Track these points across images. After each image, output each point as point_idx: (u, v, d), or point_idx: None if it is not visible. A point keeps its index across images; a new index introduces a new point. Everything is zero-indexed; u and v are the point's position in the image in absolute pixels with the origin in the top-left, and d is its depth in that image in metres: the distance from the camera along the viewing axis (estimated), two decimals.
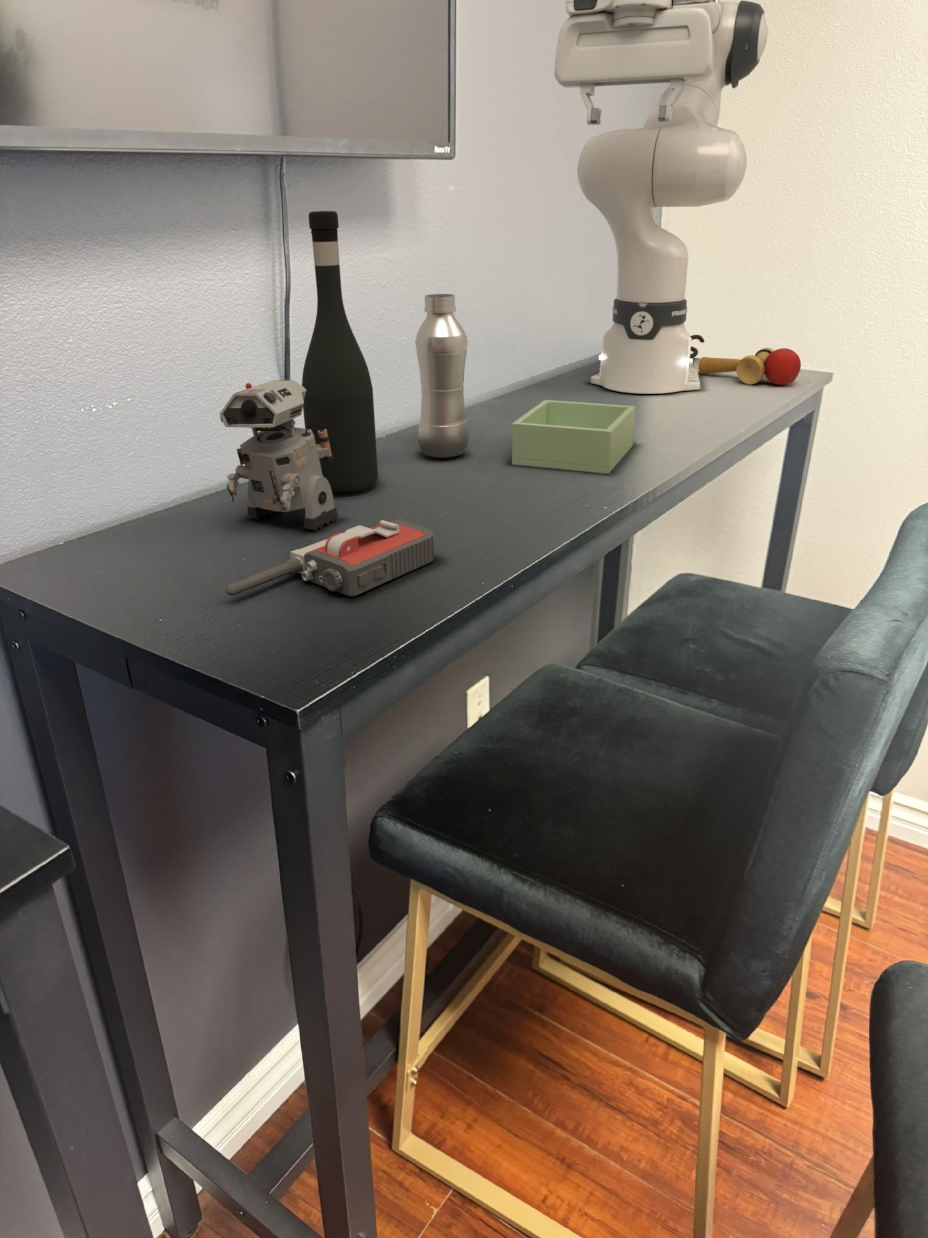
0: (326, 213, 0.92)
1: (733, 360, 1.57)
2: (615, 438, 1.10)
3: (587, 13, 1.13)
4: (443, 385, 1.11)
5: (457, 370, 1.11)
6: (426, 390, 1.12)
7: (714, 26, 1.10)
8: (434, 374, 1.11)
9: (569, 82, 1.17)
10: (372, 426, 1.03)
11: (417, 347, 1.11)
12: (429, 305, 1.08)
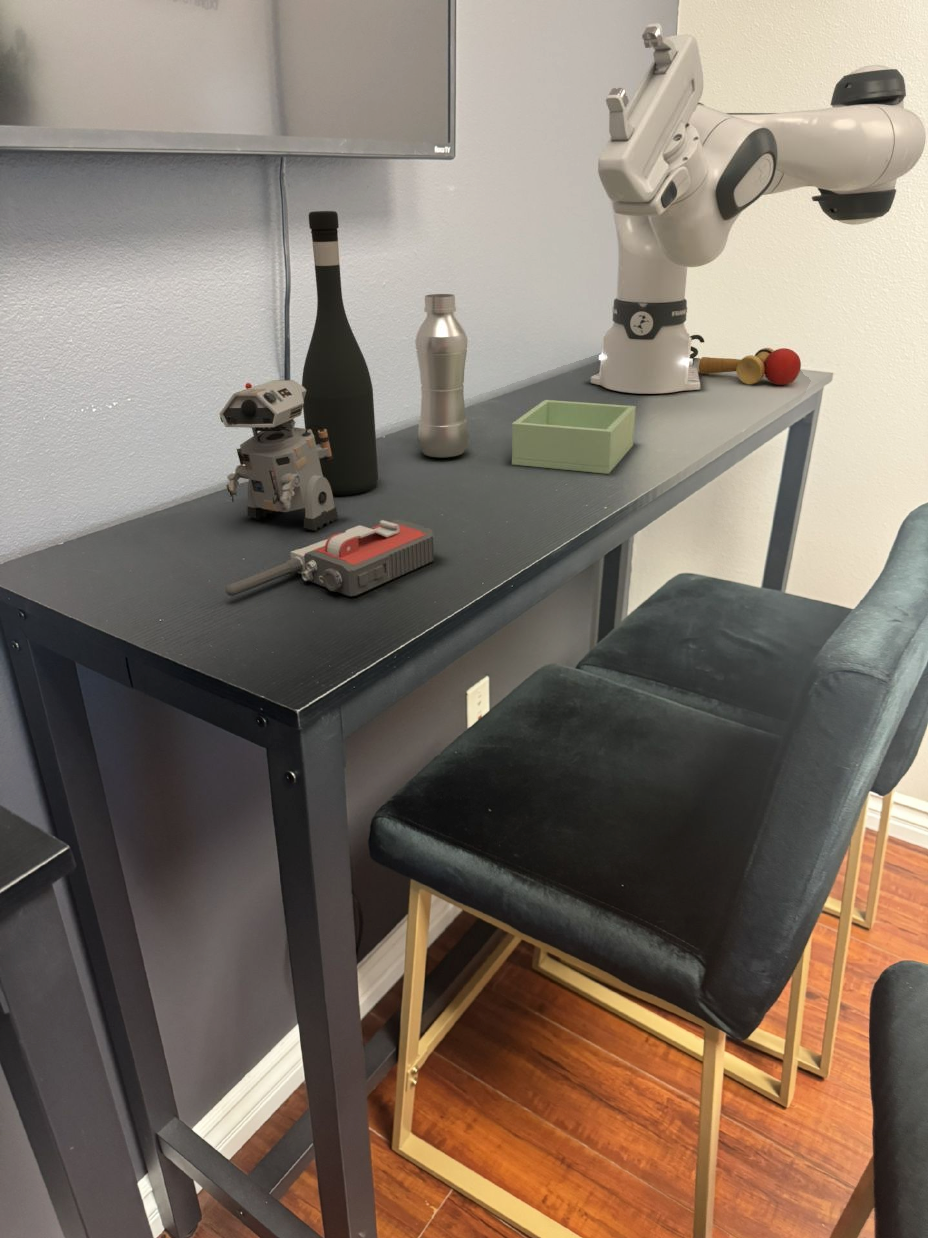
0: (326, 213, 0.92)
1: (733, 360, 1.57)
2: (615, 438, 1.10)
3: None
4: (443, 385, 1.11)
5: (457, 370, 1.11)
6: (426, 390, 1.12)
7: None
8: (434, 374, 1.11)
9: None
10: (372, 426, 1.03)
11: (417, 347, 1.11)
12: (429, 305, 1.08)
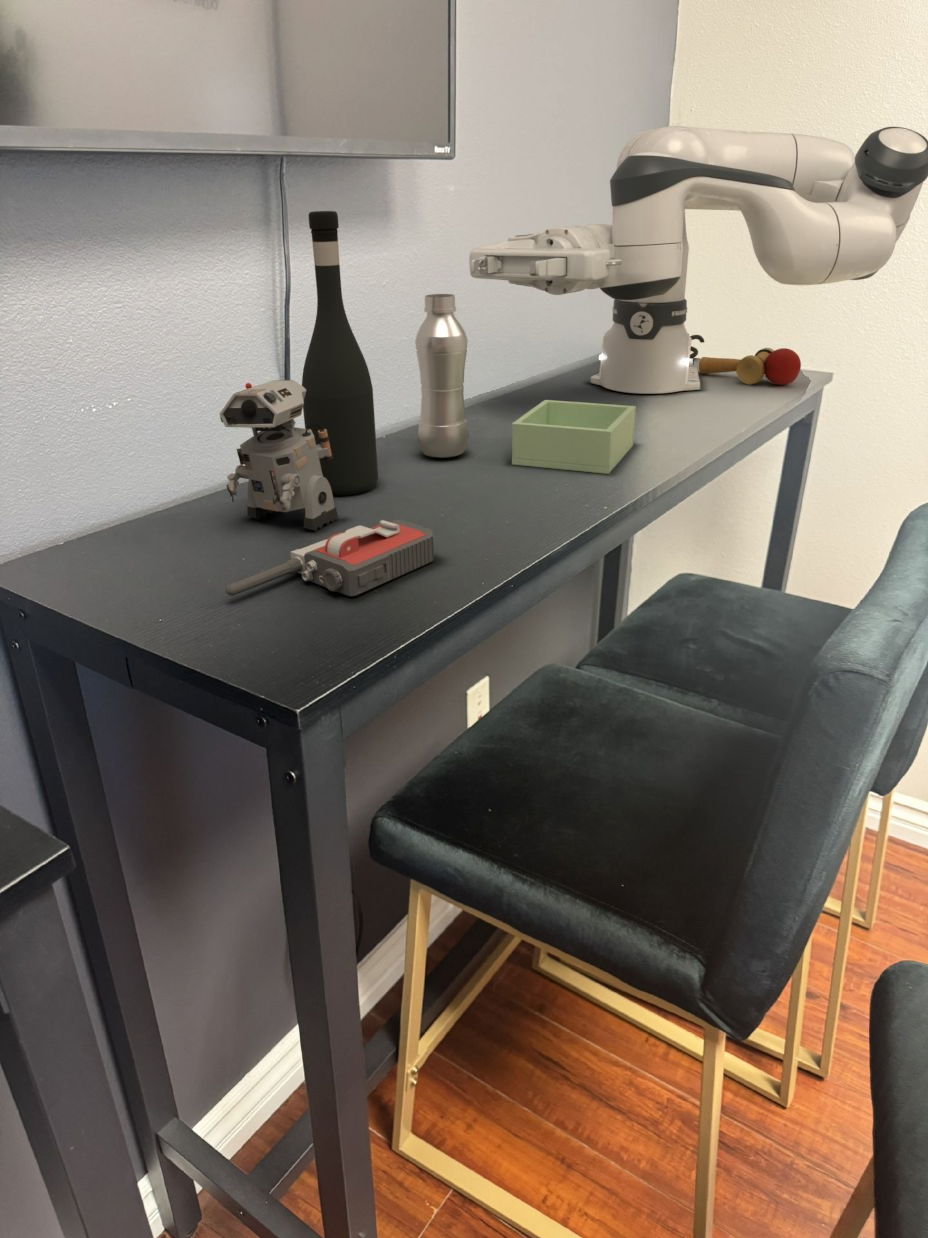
0: (326, 213, 0.92)
1: (733, 360, 1.57)
2: (615, 438, 1.10)
3: (522, 239, 1.26)
4: (443, 385, 1.11)
5: (457, 370, 1.11)
6: (426, 390, 1.12)
7: (610, 260, 1.17)
8: (434, 374, 1.11)
9: (478, 251, 1.23)
10: (372, 426, 1.03)
11: (417, 347, 1.11)
12: (429, 305, 1.08)
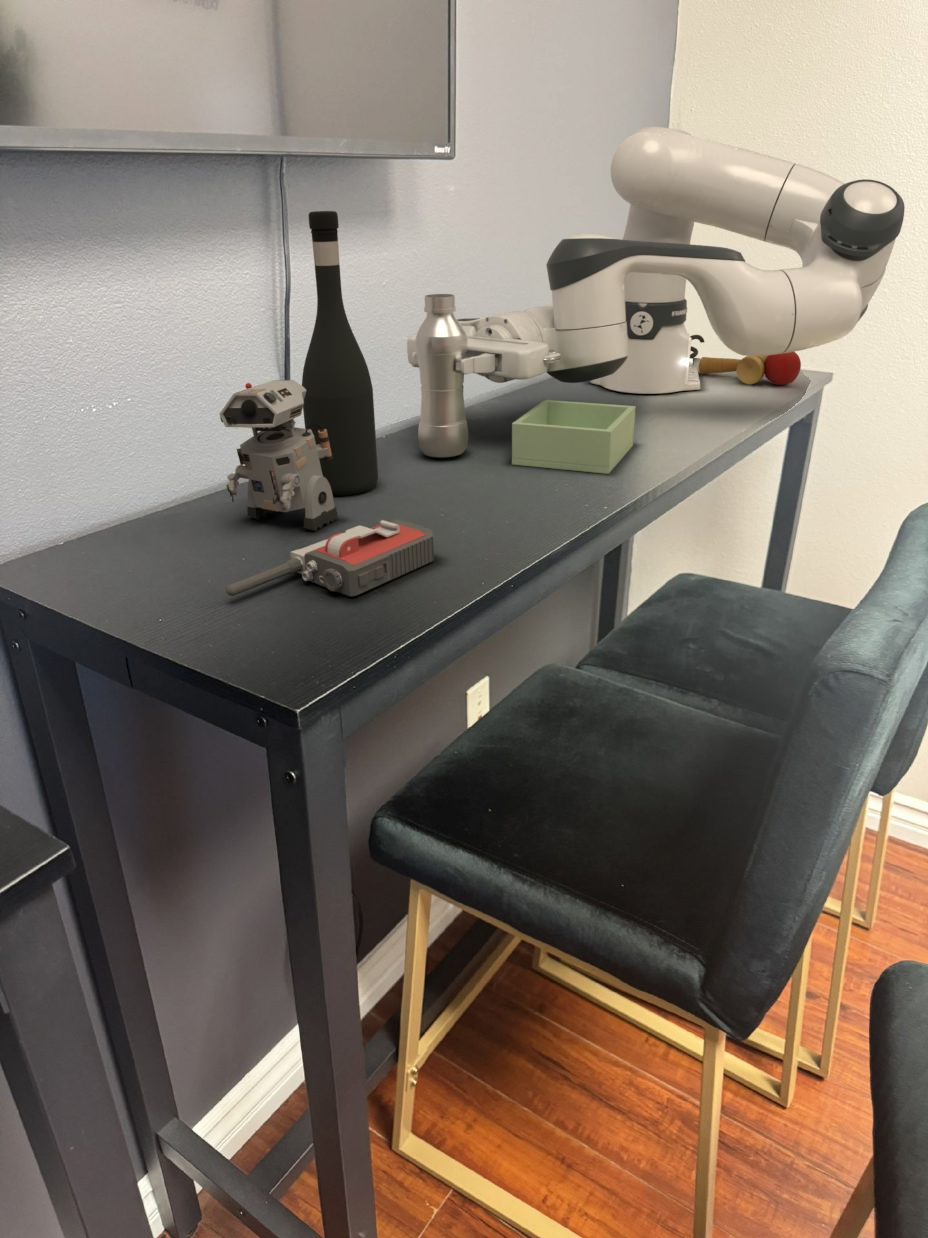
0: (326, 213, 0.92)
1: (733, 360, 1.57)
2: (615, 438, 1.10)
3: (462, 324, 1.22)
4: (443, 385, 1.11)
5: None
6: (426, 390, 1.12)
7: (548, 356, 1.13)
8: (434, 374, 1.11)
9: None
10: (372, 426, 1.03)
11: (417, 347, 1.11)
12: (429, 305, 1.08)
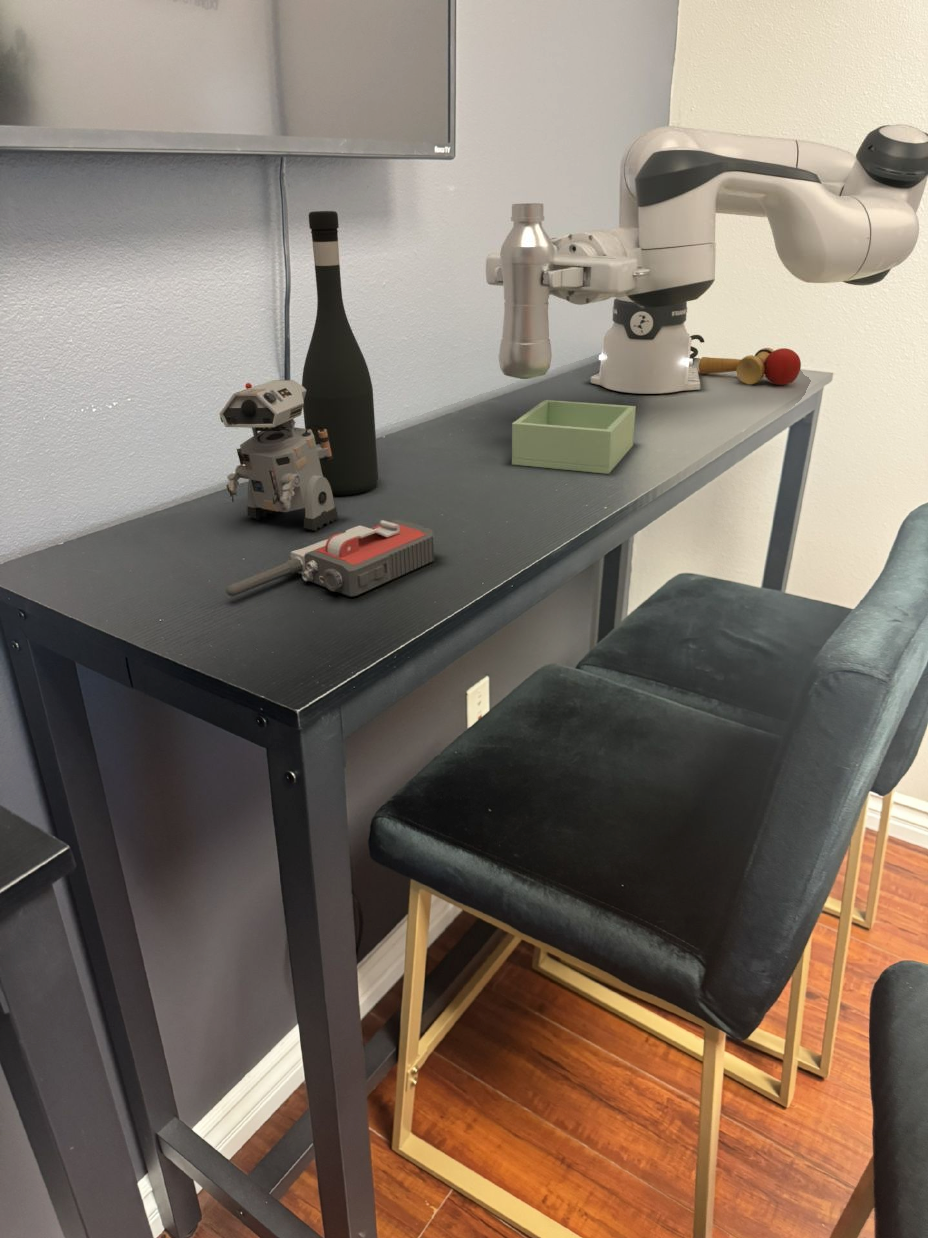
0: (326, 213, 0.92)
1: (733, 360, 1.57)
2: (615, 438, 1.10)
3: None
4: (528, 300, 1.07)
5: None
6: (510, 305, 1.08)
7: (637, 270, 1.08)
8: (520, 287, 1.06)
9: (495, 257, 1.15)
10: (372, 426, 1.03)
11: (503, 259, 1.06)
12: (517, 213, 1.04)
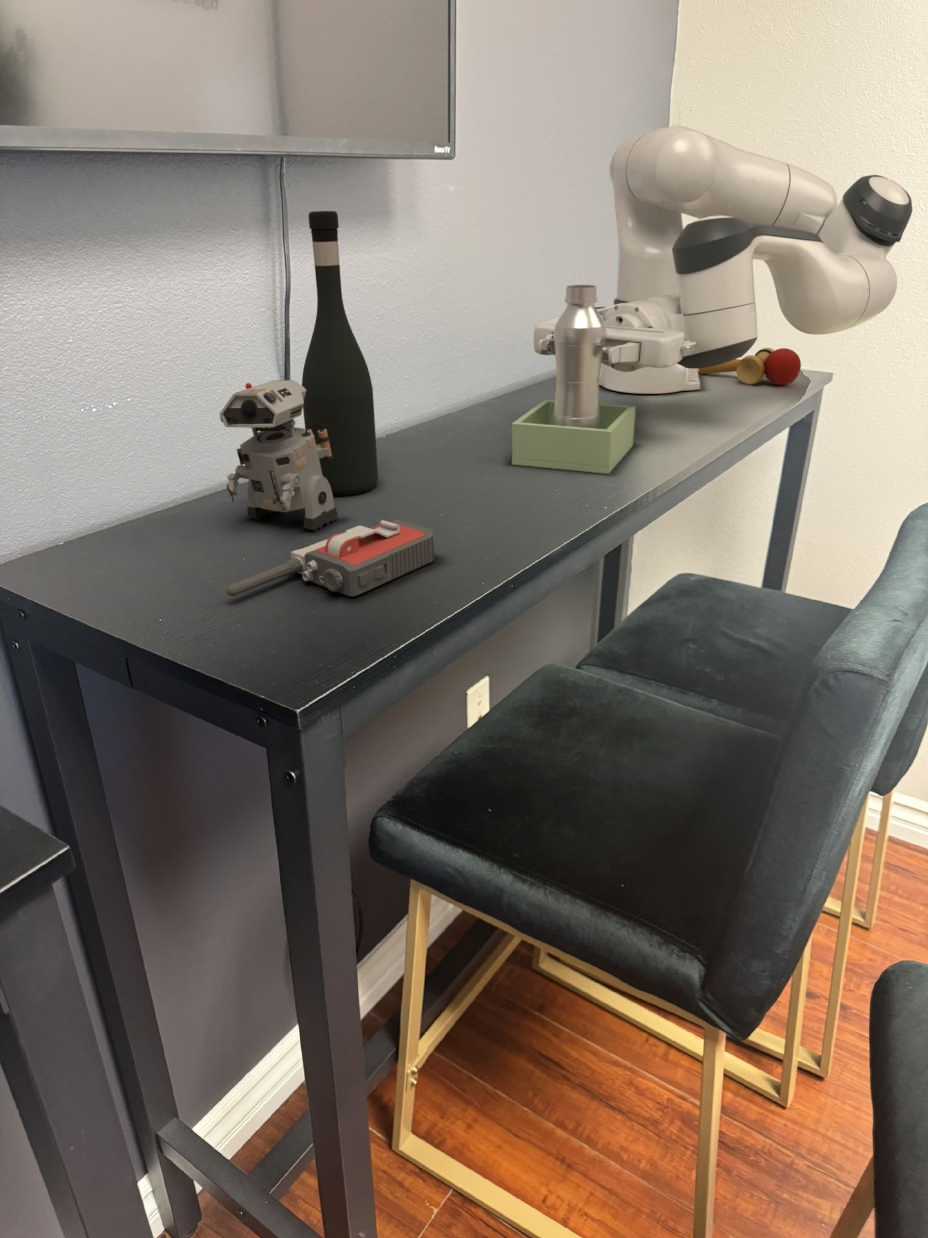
0: (326, 213, 0.92)
1: (733, 360, 1.57)
2: (615, 438, 1.10)
3: None
4: (582, 377, 1.10)
5: (596, 361, 1.10)
6: (563, 382, 1.11)
7: (685, 344, 1.12)
8: (574, 365, 1.10)
9: (543, 328, 1.18)
10: (372, 426, 1.03)
11: (557, 338, 1.10)
12: (572, 295, 1.07)
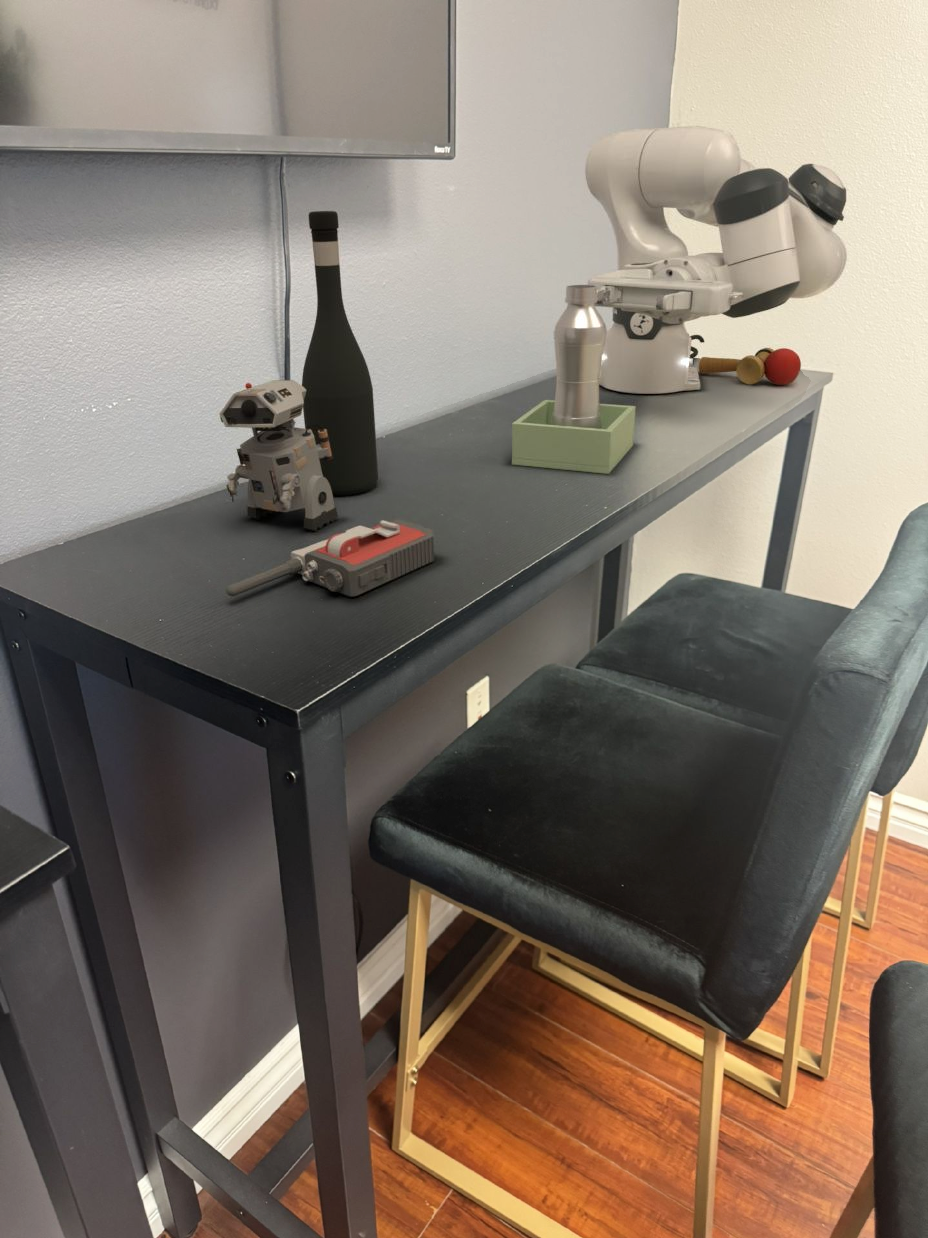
0: (326, 213, 0.92)
1: (733, 360, 1.57)
2: (615, 438, 1.10)
3: (638, 268, 1.28)
4: (582, 377, 1.10)
5: (596, 361, 1.10)
6: (563, 382, 1.11)
7: (733, 294, 1.19)
8: (574, 365, 1.10)
9: (597, 281, 1.25)
10: (372, 426, 1.03)
11: (557, 338, 1.10)
12: (572, 295, 1.07)
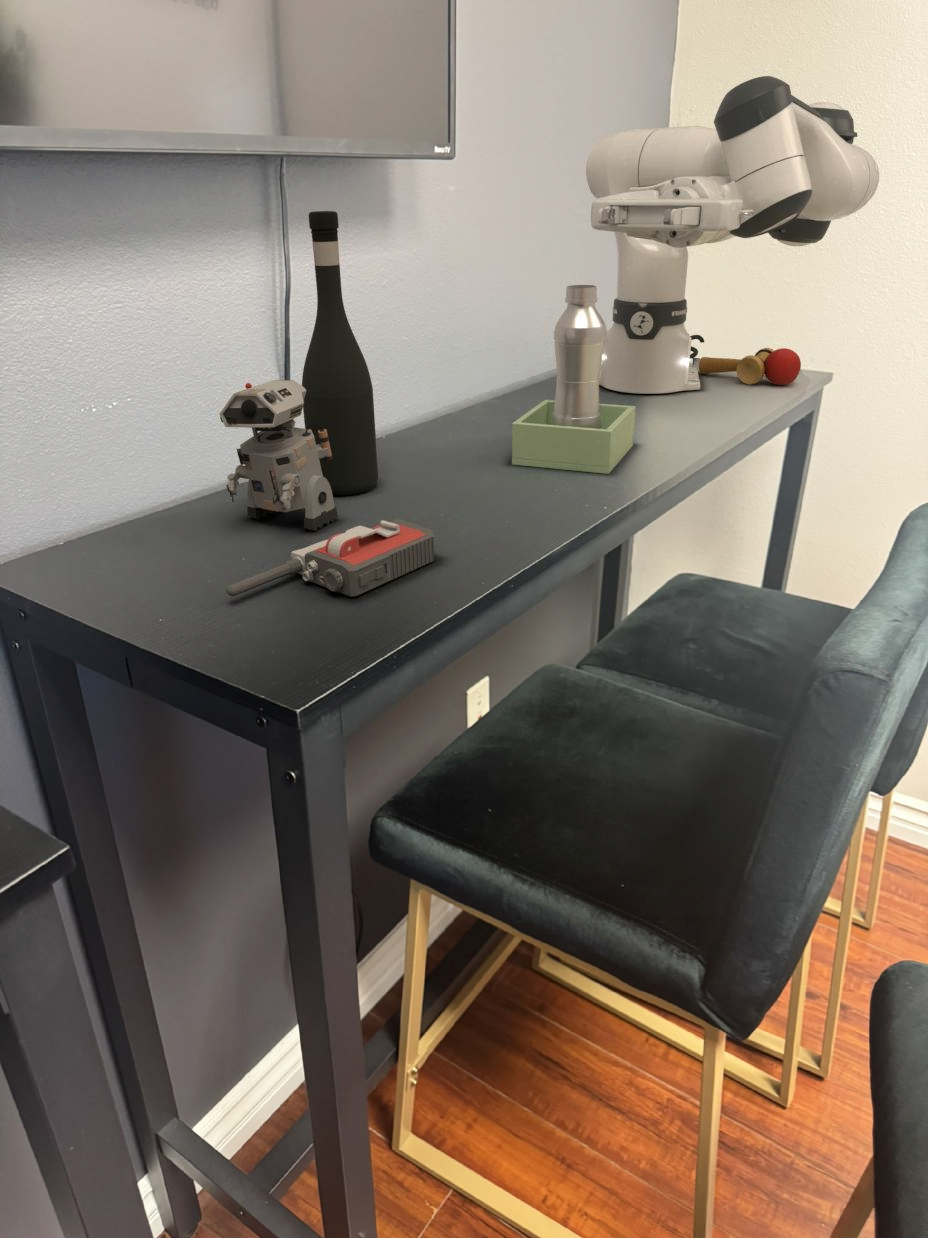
0: (326, 213, 0.92)
1: (733, 360, 1.57)
2: (615, 438, 1.10)
3: (644, 189, 1.24)
4: (582, 377, 1.10)
5: (596, 361, 1.10)
6: (563, 382, 1.11)
7: (743, 210, 1.14)
8: (574, 365, 1.10)
9: (602, 201, 1.20)
10: (372, 426, 1.03)
11: (557, 338, 1.10)
12: (572, 295, 1.07)
